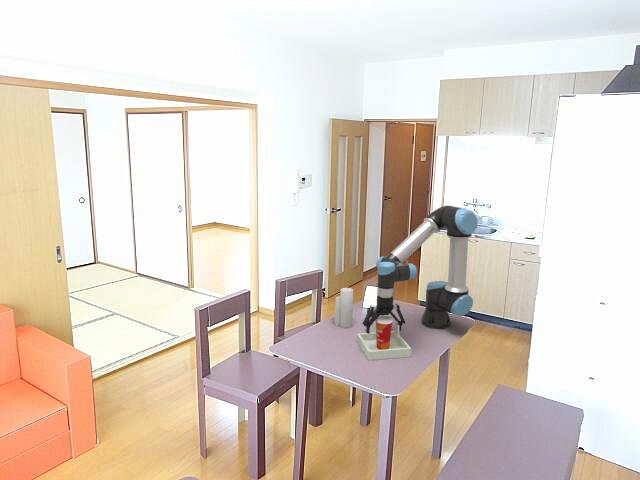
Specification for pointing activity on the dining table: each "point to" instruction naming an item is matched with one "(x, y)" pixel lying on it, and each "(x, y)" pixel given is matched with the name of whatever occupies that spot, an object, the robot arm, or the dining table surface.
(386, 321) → the coffee cup
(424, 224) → the robot arm
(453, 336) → the dining table surface
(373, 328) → the jar
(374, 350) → the bin
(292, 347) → the dining table surface
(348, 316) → the candle
